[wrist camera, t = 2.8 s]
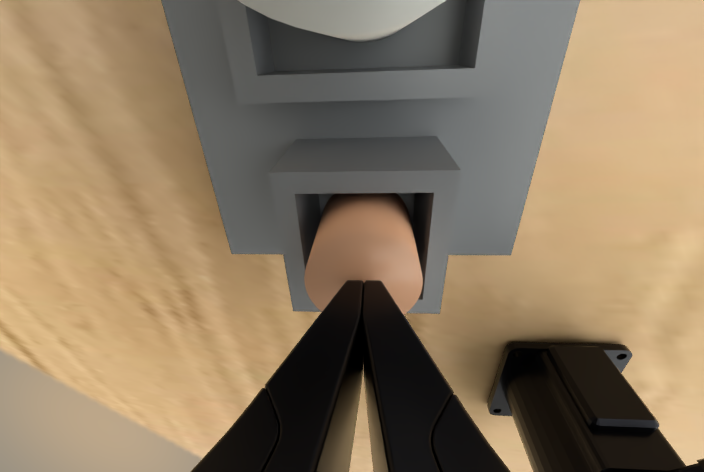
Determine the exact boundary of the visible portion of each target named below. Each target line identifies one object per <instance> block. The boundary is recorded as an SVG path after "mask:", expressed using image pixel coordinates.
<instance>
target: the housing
mask: <svg viewBox="0 0 704 472" xmlns="http://www.w3.org/2000/svg"><path fill="white" fill-rule="evenodd" d="M161 1H162V5H163V8H164V12H165V15H166V19H167V23H168V26H169V30H170V33H171V37H172V41H173V44H174V48H175V51H176V55H177V59H178V62H179V66H180V69H181V73H182V77H183V80H184V84H185V87H186V91H187V95H188V98H189V102H190V106H191V109H192V113H193V116H194V120H195V124H196V127H197V131H198V134H199V138H200V142H201V145H202V149H203V152H204V156H205V160H206V163H207V167H208V170H209V174H210V178H211V181H212V185H213V188H214V192H215V196H216V199H217V203H218V206H219V210H220V214H221V217H222V221H223V224H224V228H225V232H226V235H227V239H228V242H229V246H230V250H231V253H232V254H283V256H284V262H285V267H286V273H287V279H288V284H289V290H290V295H291V301H292V307H293V311H312V312H322V311H320V310H319V309H318V308H317V307H316V306H315V305H314V303H313V302H312V301H311V299H310V297H309V296H308V293H307V291H306V288H305V282H304V275H305V269H306V266H307V263H308V259H309V256H310V253H311V249H312V246H313V243H314V240H315V236H316V233H317V230H318V226H319V223H320V220H321V217H322V213H323V210H324V207H325V205H326V203H327V202H328V200H329V199H330V198H331V197H332V195H333V194H336V193H397V194H398V195H399V196H400V197H401V198H402V200H403V201H404V203H405V204H406V206H407V208H408V211H409V215H410V220H411V225H412V229H413V234H414V238H415V243H416V248H417V252H418V257H419V262H420V266H421V271H422V277H423V286H422V291H421V294H420V296H419V298H418V300H417V302H416V303H415V305H414V306H413V307H412V308H411V309H410V310H409V311H408V312H407V313H432V314H440V309H441V302H442V295H443V288H444V282H445V275H446V268H447V261H448V255H511V253H512V249H513V245H514V242H515V238H516V234H517V231H518V227H519V223H520V220H521V216H522V212H523V209H524V205H525V201H526V197H527V194H528V190H529V186H530V183H531V179H532V175H533V172H534V168H535V164H536V161H537V157H538V153H539V150H540V146H541V142H542V139H543V135H544V131H545V127H546V124H547V120H548V116H549V113H550V109H551V105H552V102H553V98H554V94H555V91H556V87H557V83H558V80H559V76H560V72H561V68H562V65H563V61H564V57H565V54H566V50H567V46H568V43H569V39H570V35H571V32H572V28H573V24H574V21H575V17H576V13H577V9H578V6H579V2H580V0H446V1H445V2H443V3H441V4H440V5H438V6H437V7H435V8H434V9H432V10H430V11H429V12H427V13H426V14H424V15H423V16H421V17H420V18H418V19H416V20H415V21H413V22H412V23H410V24H409V25H407V26H405V27H404V28H402V29H401V30H399V31H397V32H396V33H394V34H392V35H390V36H388V37H386V38H383V39H380V40H376V41H370V42H354V41H348V40H344V39H340V38H336V37H332V36H328V35H324V34H320V33H316V32H313V31H309V30H305V29H301V28H297V27H294V26H291V25H288V24H285V23H282V22H280V21H277V20H274V19H271V18H269V17H267V16H265V15H263V14H261V13H259V12H257V11H255V10H253V9H251V8H250V7H248V6H246V5H244V4H242V3H241V2H240V1H238V0H161Z"/></svg>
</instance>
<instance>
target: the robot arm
mask: <svg viewBox="0 0 704 472" xmlns="http://www.w3.org/2000/svg"><path fill="white" fill-rule="evenodd" d="M631 357H632V353H631V351H630V350H629V349H628V348H627V347H626V346H625V345H621V344H576V343H531V342H514V343H510V344H509V345H507V346H506V348H505V351H504V354H503V357H502V360H501V363H500V367H499V370H498V373H497V376H496V379H495V382H494V385H493V389H492V392H491V395H490V398H489V401H488V404H487V406H488V410H489V412H490V414H492V415H502V416H513V419H514V421H515V424H516V427H517V429H518V432H519V435H520V437H521V440H522V443H523V445H524V448H525V451H526V453H527V456H528V459H529V461H530V464H531V467H532V469H533V472H704V459H700V460H697V462H698V463H697V464H693V465H689V466H686V465H685V464H684V462H683V461H682V460H681V458H680V457H679V456H678V454H677V453H676V452H675V450H674V449H673V448H672V446H671V445H670V444H669V442H668V441H667V440H666V438H665V437H664V436H663V434H662V433H661V432H660V430H659V429H658V427H659V423H658V421H657V420H656V418H655V417H654V416H653V414H652V413H651V412H650V410H649V409H648V408H647V406H646V405H645V404H644V402H643V401H642V400H641V399H640V397H639V396H638V395H637V393H636V392H635V391H634V389H633V388H632V387H631V385H630V384H629V383H628V381H627V380H626V379H625V377H624V376H623V375H622V374H621V373H622V371H623V369H624V368H625V366H626V365H627V363H628V362H629V360H630V358H631ZM363 364H364V384H365V394H366V403H367V413H368V423H369V433H370V442H371V452H372V462H373V472H510V470H509V469H508V468H507V466H506V465H505V464H504V463H503V461H502V460H501V459H500V457H499V456H498V455H497V453H496V452H495V451H494V450H493V448H492V447H491V446H490V444H489V443H488V442H487V440H486V439H485V437H484V436H483V434H482V433H481V431H480V430H479V429H478V427H477V426H476V424H475V423H474V421H473V420H472V418H471V417H470V416H469V414H468V413H467V411H466V410H465V408H464V406H463V405H462V403H461V402H460V400H459V399H458V397H457V396H456V395H453V393H454V392H453V390H452V388H451V387H450V385H449V384H448V382H447V381H446V379H445V378H444V376H443V375H442V373H441V372H440V370H439V368H438V367H437V365H436V364H435V362H434V361H433V359H432V358H431V356H430V355H429V353H428V352H427V350H426V348H425V347H424V345H423V344H422V342H421V341H420V339H419V338H418V336H417V335H416V333H415V332H414V330H413V329H412V327H411V325H410V324H409V322H408V321H407V319H406V318H405V316H404V315H403V313H402V312H401V310H400V309H399V307H398V305H397V304H396V302H395V301H394V299H393V298H392V296H391V295H390V293H389V292H388V290H387V289H386V287H385V286H384V284H383V283H382V281H380V280H366V281H365V282H363V281H362V280H347V281H346V282H345V283H344V284H343V286H342V287H341V288H340V289H339V291H338V292H337V293H336V295H335V296H334V297H333V298H332V300H331V301H330V302H329V304H328V305H327V306H326V307H325V309H324V310H323V311H322V313H321V314H320V315H319V316H318V318H317V319H316V320H315V322H314V323H313V324H312V325H311V327H310V328H309V329H308V331H307V332H306V333H305V334H304V336H303V337H302V338H301V340H300V341H299V342H298V343H297V345H296V346H295V347H294V349H293V350H292V351H291V352H290V354H289V355H288V356H287V357H286V359H285V360H284V361H283V363H282V364H281V365H280V366H279V368H278V369H277V370H276V372H275V373H274V374H273V375H272V377H271V378H270V379H269V381H268V382H267V383H266V384H265V388H262V389H261V390H260V392H259V393H258V394H257V396H256V397H255V398H254V400H253V401H252V402H251V403H250V405H249V406H248V407H247V408H246V410H245V411H244V412H243V413H242V414H241V416H240V417H239V418H238V419H237V421H236V422H235V423H234V424H233V425H232V427H231V428H230V429H229V430H228V431H227V433H226V434H225V435H224V436H223V437H222V438H221V439H220V440H219V441H218V442H217V444H216V445H215V446H214V447H213V448H212V449H211V450H210V451H209V452H208V453H207V455H206V456H205V457H204V458H203V459H202V460H201V461H200V462H199V463H198V464H197V465H196V467H195V468H194V469H193V470H192V471H191V472H349V468H350V461H351V454H352V447H353V440H354V433H355V426H356V419H357V412H358V405H359V398H360V391H361V385H362V376H363Z"/></svg>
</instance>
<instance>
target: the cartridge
mask: <svg viewBox="0 0 704 472" xmlns="http://www.w3.org/2000/svg"><path fill="white" fill-rule="evenodd" d="M238 1H240V2H241V3H242V4H244V5H246V6H248V7H250V8H251V9H253V10H255V11H257V12H259V13H261V14H263V15H265V16H267V17H269V18H271V19H274V20H277V21H280V22H282V23H285V24H288V25H291V26H294V27H297V28H301V29H305V30H309V31H313V32H316V33H320V34H324V35H328V36H332V37H336V38H340V39H344V40H348V41H354V42H370V41H376V40H380V39H383V38H386V37H388V36H390V35H392V34H394V33H396V32H397V31H399V30H401V29H402V28H404V27H405V26H407V25H409V24H410V23H412V22H413V21H415V20H416V19H418V18H420V17H421V16H423V15H424V14H426V13H427V12H429V11H430V10H432V9H434V8H435V7H437V6H438V5H440V4H441V3H443V2H445V1H446V0H238Z"/></svg>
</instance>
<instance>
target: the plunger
mask: <svg viewBox="0 0 704 472" xmlns="http://www.w3.org/2000/svg"><path fill="white" fill-rule="evenodd" d="M347 280H362V281H363V282H365V281H366V280H380V281H382V283H383V284H384V286H385V287H386V289H387V290H388V292H389V293H390V295H391V296H392V298H393V299H394V301H395V302H396V304H397V305H398V307H399V309H400V310H401V312H402V313H403V315H404V314H405V313H407V312H408V311H409V310H410V309H411V308H412V307H413V306H414V305H415V303H416V302H417V300H418V298H419V296H420V294H421V291H422V286H423V277H422V271H421V266H420V262H419V257H418V252H417V248H416V243H415V238H414V234H413V229H412V225H411V220H410V215H409V211H408V208H407V206H406V204H405V203H404V201H403V200H402V198H401V197H400V196H399V195H398V194H397V193H336V194H333V195H332V197H331V198H330V199H329V200H328V202H327V203H326V205H325V207H324V210H323V213H322V217H321V220H320V223H319V226H318V230H317V233H316V236H315V240H314V243H313V246H312V249H311V253H310V256H309V259H308V263H307V266H306V269H305V275H304V282H305V288H306V291H307V293H308V296H309V297H310V299H311V301H312V302H313V303H314V305H315V306H316V307H317V308H318V309H319V310H320V311H323V310H324V309H325V307H326V306H327V305H328V304H329V302H330V301H331V300H332V298H333V297H334V296H335V295H336V293H337V292H338V291H339V289H340V288H341V287H342V286H343V284H344V283H345V282H346V281H347Z"/></svg>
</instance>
